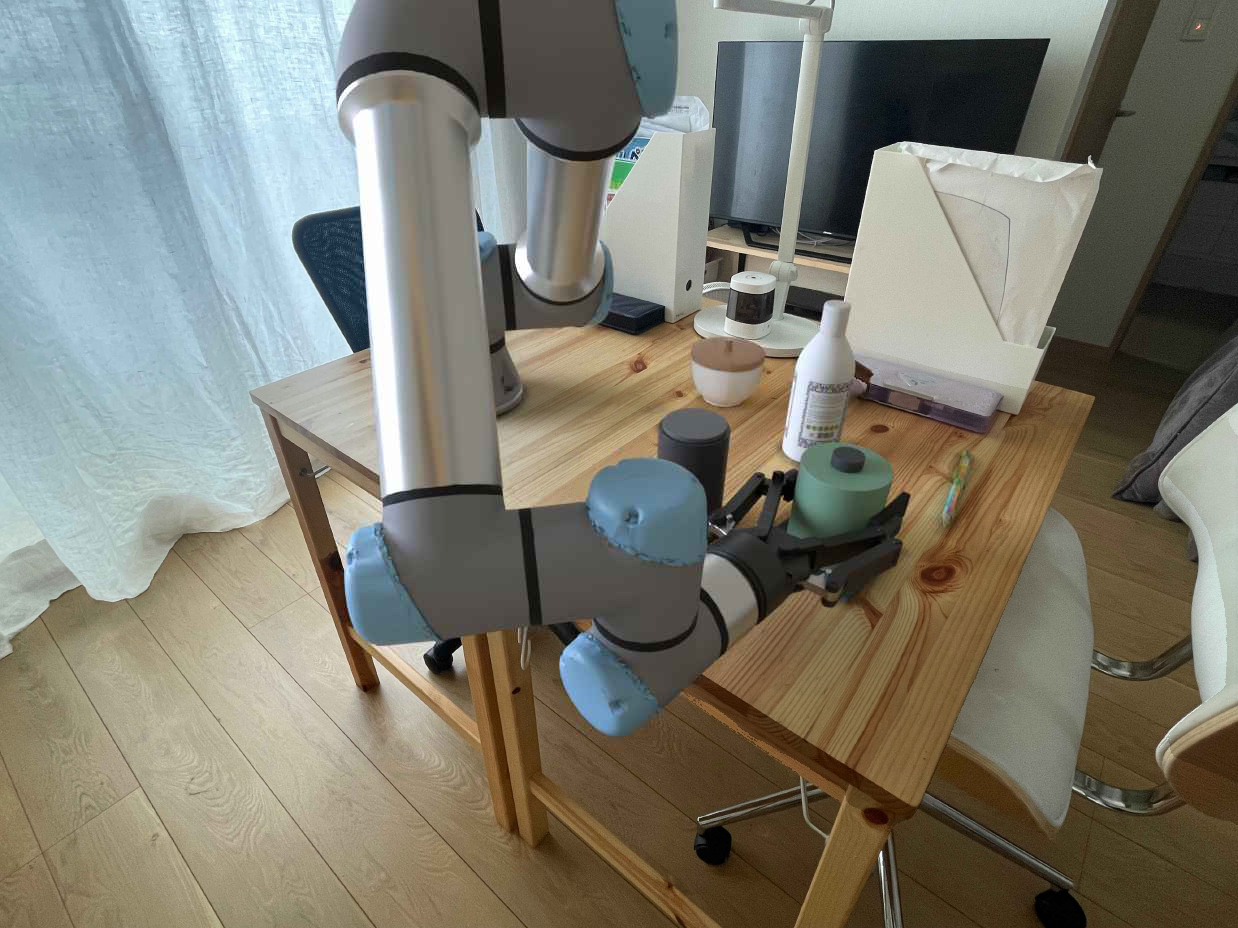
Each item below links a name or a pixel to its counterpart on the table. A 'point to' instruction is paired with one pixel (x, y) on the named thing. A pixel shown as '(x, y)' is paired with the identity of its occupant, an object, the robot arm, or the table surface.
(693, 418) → the cylinder
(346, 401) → the table surface
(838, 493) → the green knobbed cylinder
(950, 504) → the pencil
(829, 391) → the bath foam
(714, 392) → the white bowl with lid
